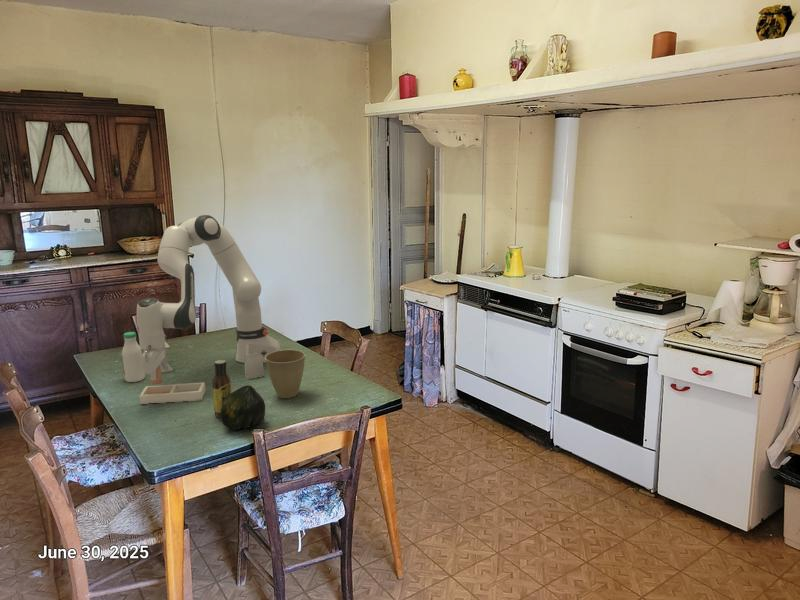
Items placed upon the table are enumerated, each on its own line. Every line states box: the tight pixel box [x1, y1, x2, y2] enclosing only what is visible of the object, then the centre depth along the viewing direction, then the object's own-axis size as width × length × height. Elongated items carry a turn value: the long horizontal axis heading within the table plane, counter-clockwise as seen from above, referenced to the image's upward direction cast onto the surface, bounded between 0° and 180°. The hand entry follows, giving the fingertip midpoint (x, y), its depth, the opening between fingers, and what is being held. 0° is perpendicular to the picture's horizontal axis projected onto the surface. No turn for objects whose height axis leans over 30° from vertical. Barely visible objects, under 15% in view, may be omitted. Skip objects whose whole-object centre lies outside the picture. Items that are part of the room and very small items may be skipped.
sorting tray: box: [138, 381, 206, 405], centre depth 232 cm, size 22×10×4 cm, turn 99°
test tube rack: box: [160, 341, 174, 374], centre depth 270 cm, size 25×4×13 cm, turn 33°
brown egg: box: [149, 366, 163, 385], centre depth 230 cm, size 4×4×6 cm
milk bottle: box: [121, 331, 146, 383], centre depth 250 cm, size 8×8×20 cm
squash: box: [220, 384, 266, 431], centre depth 207 cm, size 14×15×15 cm
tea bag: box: [243, 353, 265, 380], centre depth 252 cm, size 4×7×10 cm, turn 121°
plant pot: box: [265, 349, 306, 399], centre depth 232 cm, size 15×15×16 cm
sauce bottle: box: [212, 359, 232, 418], centre depth 214 cm, size 6×6×20 cm
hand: (156, 377), depth 230 cm, fingers closed on brown egg, 4 cm apart
